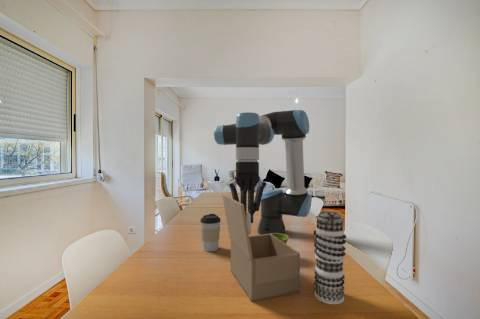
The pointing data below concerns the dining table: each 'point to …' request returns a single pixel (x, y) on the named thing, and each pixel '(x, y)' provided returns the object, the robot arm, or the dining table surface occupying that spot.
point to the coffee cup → (210, 232)
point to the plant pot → (281, 237)
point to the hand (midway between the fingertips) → (247, 233)
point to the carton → (266, 268)
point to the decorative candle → (329, 258)
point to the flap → (237, 224)
